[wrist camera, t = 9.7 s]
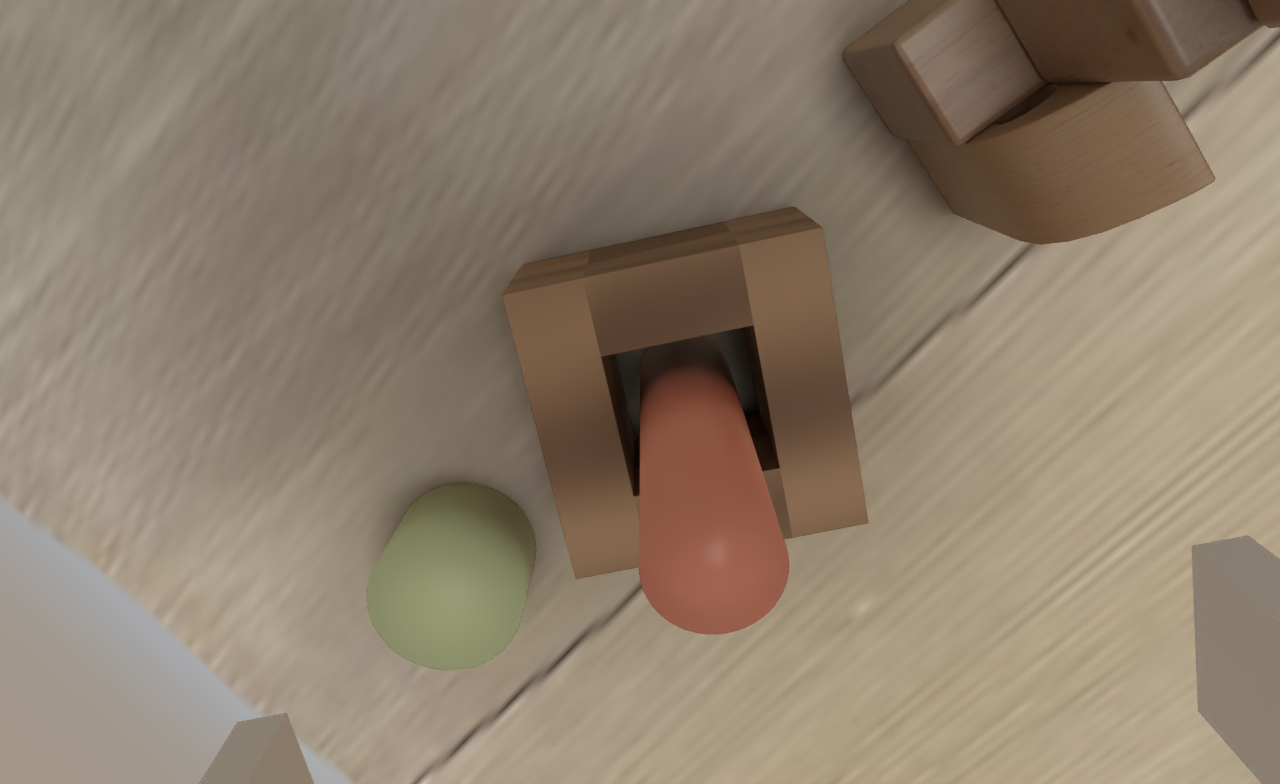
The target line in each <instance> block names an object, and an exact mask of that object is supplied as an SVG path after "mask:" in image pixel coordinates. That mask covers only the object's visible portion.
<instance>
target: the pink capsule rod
mask: <svg viewBox="0 0 1280 784" xmlns="http://www.w3.org/2000/svg"><path fill="white" fill-rule="evenodd" d="M639 574H640V581H641V584H642V588H643V591H644V593H645V595H646V597H647V599H648V600H649V602H650V604H651V605H652V606H653V607H654V609H655V610H656V611H657V612H658V613H659V614H660V615H661V616H662V617H664V618H665V619H666V620H668V621H669V622H671V623H672V624H674V625H676V626H678V627H680V628H683V629H685V630H688V631H692V632H696V633H702V634H723V633H729V632H733V631H737V630H740V629H743V628H745V627H747V626H749V625H751V624H753V623H755V622H756V621H758V620H760V619H761V618H762V617H763V616H765V615H766V614H767V613H768V612H769V611H770V610H771V609H772V608H773V607H774V606H775V604H776V603H777V601H778V600H779V598H780V597H781V595H782V593H783V591H784V588H785V586H786V583H787V579H788V574H789V558H788V552H787V548H786V545H785V541H784V538H783V535H782V532H781V529H780V526H779V523H778V519H777V516H776V513H775V510H774V507H773V504H772V501H771V497H770V494H769V491H768V488H767V485H766V482H765V479H764V475H763V472H762V469H761V466H760V463H759V460H758V457H757V453H756V450H755V447H754V444H753V441H752V438H751V435H750V431H749V428H748V425H747V422H746V419H745V416H744V413H743V409H742V406H741V403H740V400H739V397H738V394H737V391H736V387H735V384H734V381H733V378H732V375H731V372H730V369H729V366H728V362H727V359H726V357H725V354H724V353H723V351H722V349H721V348H720V347H719V345H718V344H717V343H716V342H714V341H713V340H712V339H711V338H709V337H707V336H706V335H704V336H699V337H695V338H690V339H685V340H680V341H675V342H670V343H665V344H661V345H656V346H651V347H650V348H649V349H648V350H647V352H646V354H645V356H644V358H643V360H642V364H641V370H640V532H639Z"/></svg>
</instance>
